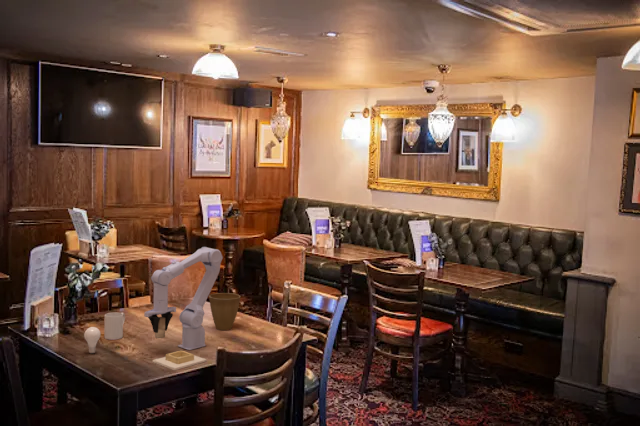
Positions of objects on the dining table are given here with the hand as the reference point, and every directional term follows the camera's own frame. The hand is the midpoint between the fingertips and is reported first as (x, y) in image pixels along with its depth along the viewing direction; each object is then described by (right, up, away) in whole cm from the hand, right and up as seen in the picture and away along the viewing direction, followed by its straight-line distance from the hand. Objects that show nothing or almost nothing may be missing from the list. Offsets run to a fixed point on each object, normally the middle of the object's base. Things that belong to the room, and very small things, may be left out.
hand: (160, 331), depth 271 cm
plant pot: (+20, -7, +43) cm, 48 cm away
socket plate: (+10, -11, -9) cm, 17 cm away
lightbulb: (-27, -9, -3) cm, 29 cm away
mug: (-25, -7, +23) cm, 35 cm away
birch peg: (0, -2, 0) cm, 2 cm away
